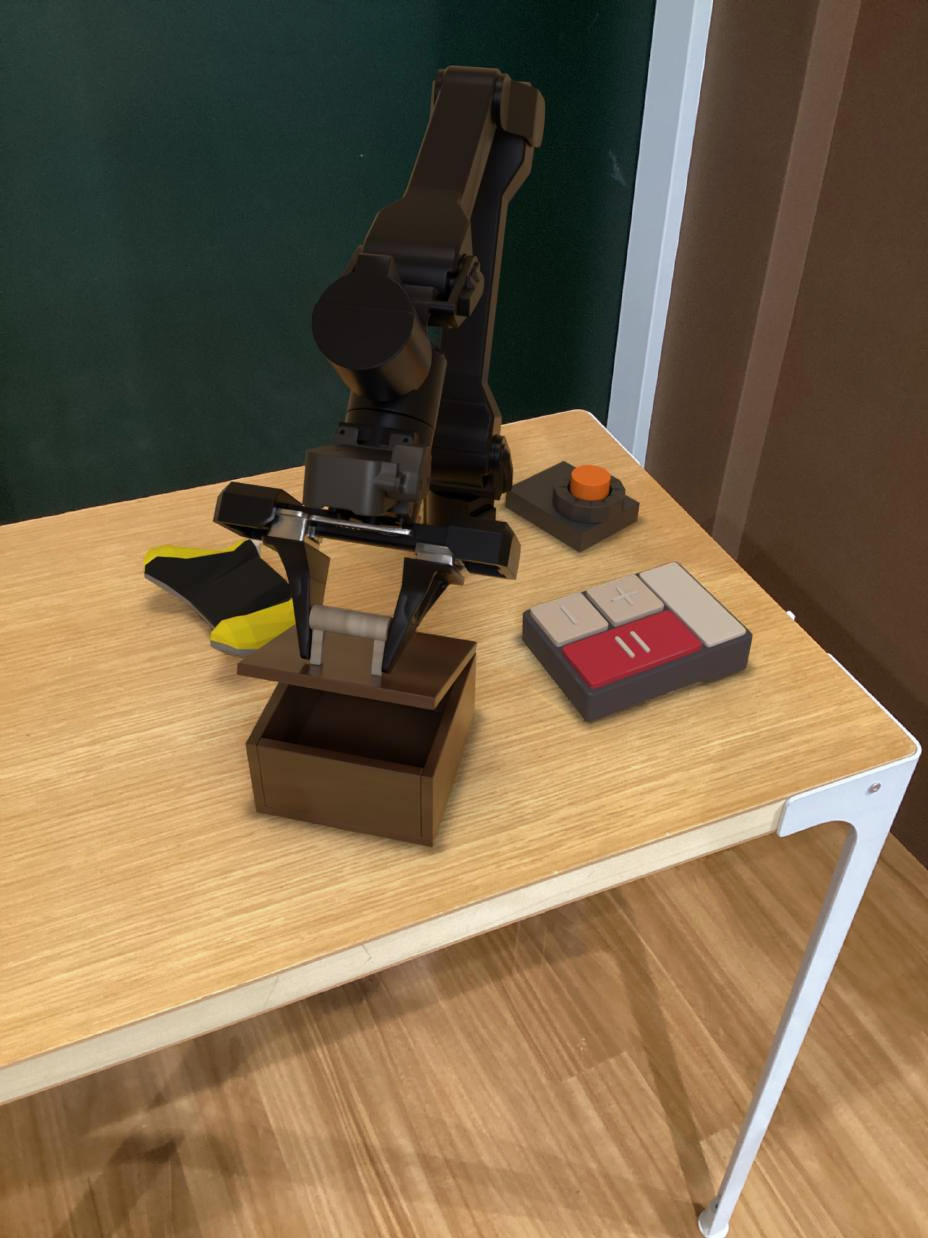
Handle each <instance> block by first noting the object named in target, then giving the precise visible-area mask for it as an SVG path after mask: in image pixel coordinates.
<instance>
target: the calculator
mask: <svg viewBox="0 0 928 1238" xmlns="http://www.w3.org/2000/svg"><path fill="white" fill-rule="evenodd" d="M521 621H522V627H521V628H522V629H521V630H522V631H521V632H522V633H521V634H522V637H521V638H522V642H523V643H524V644H525V645H526V647H527V648H528V649H529V651H530V652H531V653H532V654H533V655H534V657H535V658H536V659H537V661H538V662H539V663H540V664H541V666H542V667H543V668H544V670H545V671H546V672H547V673H548V675H549V676H550V677H551V678H552V680H553V681H554V682H555V683H556V686H558V688H559V689H560V690H561V691H562V692H563V694H564V695H565V696H566V698H567V699H568V700H569V702H570V703H571V705H573V707H574V708H575V709H576V710H577V712H578V713H579V714H580V716H581V717H582V718H583V719H584V720H585V721H586V722H588V723H589V722H594V721H597V720H599V719H602V718H605V717H608V716H611V715H613V714H615V713H618V712H621V711H624V710H626V709H629V708H631V707H634V706H636V705H640V704H642V703H644V702H647V701H650V700H653V699H655V698H658V697H660V696H661V697H662V696H664V695H667V694H668V693H672V692H674V691H677V690H679V689H682V688H684V687H687V686H690V685H692V684H695V683H698V682H701V681H703V682H708V683H711V682H714V681H717V680H719V679H722V678H725V677H727V676H730V675H732V674H735V673H738V672H741V671H744V670H746V668H747V666H748V663H749V657H750V652H751V647H752V643H753V642H752V641H753V638H754V635H753V632H751V631H750V629H748V628H747V627H746V625H744V623H742V622H741V621H740V619H738V618H737V617H736V616H735V615H734V614H733V613H732V612H731V611H730V610H729V609H728V608H727V607H725V605H724V604H722V603H721V602H720V601H719V599H717V598H716V597H715V596H714V595H713V594H712V593H711V592H710V591H709V590H707V588H705V586H703V584H702V583H700V581H698V580H697V579H696V578H695V577H694V576H693V575H692V574H691V573H690V572H689V571H688V570H687V569H686V568H685V567H683V565H682V564H680V563H679V562H678V561H670V562H667V563H664V564H661V565H658V566H655V567H652V568H649V569H646V570H643V571H640V572H637V573H632V574H628V575H625V576H622V577H619V578H615V579H613V580H610V581H606V582H603V583H600V584H597V585H595V586H591V587H589V588H587V589H585V590H584V591H577V592H573V593H571V594H567V595H565V596H561V597H559V598H556V599H553V600H549V601H546V602H543V603H541V604H537V605H534V606H532V607H530V608H529V609H526V610H525V611H523V612H522V620H521Z"/></svg>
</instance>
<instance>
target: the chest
mask: <svg viewBox="0 0 928 1238" xmlns="http://www.w3.org/2000/svg"><path fill="white" fill-rule="evenodd" d="M476 672H477V651H476V652H475V654H474V655H473V656H472V658H471V659H470V661H469V662H468V663H467V665H466V666H465V667H464V669H463V670H462V672H461V673H460V674H459V676H458V677H457V678H456V680H455V681H454V683H453V684H452V685H451V687H450V688H449V690H448V691H447V692H446V694H445V695H444V696H443V698H442V699H441V701H440V702H439V703H438V705H437V706H436V707H435V709H434V710H431V709H426V708H420V707H414V706H409V705H403V704H397V703H392V702H386V701H381V700H375V699H369V698H364V697H358V696H353V695H347V694H341V693H336V692H330V691H325V690H319V689H313V688H308V687H302V686H297V685H291V684H285V683H280V682H277V684H276V686H275V688H274V689H273V692H272V693H271V695H270V697H269V699H268V700H267V703H266V705H265V706H264V708H263V710H262V712H261V714H260V715H259V717H258V719H257V721H256V723H255V725H254V726H253V728H252V730H251V732H250V734H249V735H248V737H247V739H246V741H245V745H244V746H245V751H246V757H247V763H248V770H249V777H250V781H251V788H252V795H253V801H254V807H255V812H256V813H259V814H265V815H269V816H275V817H280V818H285V819H289V820H295V821H300V822H305V823H308V824H309V823H310V824H315V825H319V826H325V827H330V828H334V829H339V830H345V831H350V832H355V833H360V834H363V835H364V834H365V835H368V836H369V835H371V836H375V837H379V838H384V839H389V840H395V841H399V842H405V843H409V844H415V845H419V846H425V847H431V848H433V847H434V844H435V842H436V838H437V835H438V832H439V829H440V826H441V823H442V820H443V817H444V813H445V811H446V808H447V804H448V801H449V798H450V795H451V792H452V790H453V789H452V788H453V786H454V783H455V780H456V777H457V773H458V770H459V767H460V765H461V761H462V758H463V755H464V752H465V749H466V746H467V742H468V739H469V736H470V733H471V731H472V727H473V723H474V720H475V708H476V707H475V703H476V701H475V700H476V679H477V677H476V675H477V673H476Z"/></svg>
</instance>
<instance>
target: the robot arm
mask: <svg viewBox="0 0 928 1238" xmlns="http://www.w3.org/2000/svg"><path fill="white" fill-rule="evenodd" d="M545 101H546V100H545V98H544V97H543V95H542V93H541V91H540V89H538V88H537V87H533V86H532V83H531V82H530V81H517V80H514V79H512V78H511V77H510V75H509V74H508V73H503V72H501V71H500V69H499V68H491V67H490V68H489V67H476V66H463V65H462V66H461V65H448V66H447V67H446V68H439V69H438V70H437V73H436V77H435V79H434V80H433V81H432V85H431V97H430V109H429V110H430V111H429V120H428V123H427V126H426V130H425V132H424V135H423V138H422V142H421V145H420V147H419V150H418V153H417V157H416V159H415V162H414V166H413V168H412V171H411V174H410V177H409V181H408V182H407V186H406V189H405V191H404V193H403V195H402V196H401V198H399V199H397V200H395V201H394V202H392V203H391V204H389V205H387V206H385V207H384V208H382V209H380V210H379V211H378V212H377V213H376V215H375V217H374V219H373V221H372V223H371V226H370V227H369V228H368V229H369V230H368V231H367V234H366V235H365V237H364V241H363V243H362V244H359V245H358V246H357V247H356V249H355V251H354V253H353V254H352V256H351V258H350V259H349V261H348V263H347V264H346V267H345V269H343V272H342V274H341V275H340V277H339V278H337V279H336V280H335V281H333V282H332V283H331V284H329V286H327V288H326V289H325V290H324V291H323V292H322V293H321V296H320V297H319V299H318V300H317V302H315V304H314V306H313V310H312V314H311V331H312V336H313V340H314V341H315V344H316V346H317V347H318V349H319V351H320V353H321V354H322V356H324V358H325V359H326V360H327V362H328V363H329V365H330V366H331V367H332V368H333V370H334V371H335V373H336V374H337V375H338V377H339V378H340V379H341V381H342V382H343V383H344V385H346V387H348V389H349V390H350V392H349V397H348V403H347V408H346V413H345V418H344V421H339V422H338V427H337V428H336V430H335V435H334V440H333V442H332V443H331V445H328V444H327V445H321V446H317V447H313V448H309V449H306V450H305V460H304V461H305V462H304V475H303V489H302V500H301V501H300V500H298V499H296V498H295V497H294V496H293V495H291V494H290V493H288V492H287V491H286V490H284V489H283V488H279V487H273V486H272V487H271V486H266V485H259V484H252V483H246V482H240V481H239V482H238V481H233V480H232V481H230V482H229V483H228V484H227V485H226V486H225V487H224V488H223V489H222V490H221V491H220V493H219V494H218V495H217V498H216V501H215V507H214V512H213V516H212V523H215V524H216V525H218V526H220V527H222V528H225V529H226V530H227V531H230V532H232V533H233V534H235V535H237V536H239V537H240V538H244V539H253V540H259V541H260V542H261V544H262V545H263V546H265V547H266V548H268V549H270V550H272V551H274V552H275V553H277V554H278V556H279V559H280V561H281V563H282V566H283V568H284V571H285V575H286V578H287V582H288V583H289V586H290V590H291V596H292V602H293V609H294V616H295V623H296V630H297V637H298V644H299V651H300V657H301V658H302V659H306V660H310V658H311V645H312V633H313V629H311V628H310V626H309V616H310V612H311V609H312V607H313V605H315V604H319V605H324V601H325V600H324V599H325V595H326V588H327V582H328V577H329V571H330V564H331V563H330V562H331V556H328V555H327V554H325V553H324V552H322V551H320V548H321V544H323V541H324V539H325V540H332V541H333V540H334V541H339V542H344V543H345V542H346V543H352V544H360V545H366V546H371V547H378V548H384V549H391V550H397V551H404V552H410V553H414V555H415V556H416V558H414V557H409V556H408V557H407V556H404V557H403V563H402V564H403V566H402V575H401V585H400V589H399V594H398V596H397V601H396V604H395V608H394V611H393V614H392V622H391V625H390V629H389V632H388V636H387V640H386V643H385V647H384V653H383V660H382V667H381V672H382V673H386V674H390V673H391V671H392V670H393V668H394V666H395V665H396V663H397V661H398V660H399V658H400V656H401V655H402V653H403V651H404V650H405V648H406V646H407V645H408V643H409V641H410V640H411V638H412V636H413V635H414V633H415V631H416V632H417V631H418V630H417V629H418V628H419V626H420V625H421V623H422V621H423V620H424V619H425V617H426V616H427V614H428V613H429V612H430V611H431V609H432V608H433V607H434V605H435V604H436V603H437V601H438V600H439V599H440V597H442V595H443V594H444V593H445V591H446V590H447V589H448V587H449V586H451V585H454V586H464V584H465V580H466V577H465V576H464V575H463V571H464V568H465V569H466V571H467V572H468V574H470V575H477V576H483V577H490V578H495V579H502V580H509V581H510V580H511V581H512V580H513V581H514V580H515V581H516V580H517V578H518V571H519V566H520V559H521V554H522V553H521V552H522V544H521V542H520V540H519V538H518V537H517V535H516V534H515V532H514V530H513V528H512V527H511V526H510V524H509V523H508V522H507V521H504V520H503V521H502V520H497V507H496V506H495V501H500V500H501V498H502V495H503V494H506V492H508V491H511V490H512V486H513V485H514V484H513V483H514V467H513V460H512V453H511V452H512V451H511V449H510V446H509V444H508V443H509V442H508V441H507V438H506V435H502V434H501V433H502V422H503V421H502V420H503V416H502V413H501V410H500V408H499V406H498V404H497V401H496V399H495V397H494V394H493V392H492V390H491V388H490V385H489V383H488V382H489V372H490V365H491V364H490V363H491V356H492V349H493V348H492V347H493V346H492V345H493V338H494V328H495V321H496V320H495V319H496V311H497V303H498V294H499V285H500V277H501V268H502V261H503V260H502V257H503V250H504V242H505V241H504V240H505V232H506V224H507V216H508V215H507V214H508V208H509V203H510V201H511V200H512V199H513V198H514V196H515V195H516V193H517V192H518V191H519V189H520V188H521V186H522V185H523V184H524V182H525V181H526V179H527V178H528V177H529V175H530V174H531V172H532V166H533V165H532V164H533V158H534V153H535V152H534V151H535V148H540V147H541V146H542V141H543V138H544V137H543V136H544V129H545V122H546V121H545V119H546V102H545ZM429 327H434V328H440V336H439V343H438V344H437V343H436V341H435V340H434V339H432V337H430V336H429V333H428V331H429V330H428V329H429ZM326 507H327V509H326ZM421 507H422V516H421V515H420V513H421ZM421 518H422V523H421Z"/></svg>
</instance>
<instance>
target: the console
mask: <svg viewBox="0 0 928 1238" xmlns="http://www.w3.org/2000/svg"><path fill="white" fill-rule="evenodd" d="M575 468H577V466H574V465H572V464H571V463H569V462H567V461H565V460H562V461H560V462H558V463H556V464H554V465H552V466H550V467H548V468H546V469H544V470H541V471H539V472H537V473H535V474H533V475H531V476H529V477H526V478H525V479H523V480H521V481H519V482H516V483H514V484H513V486H512V490H511V491H508V492H506V493H505V504H504V507H505V508H506V509H508V510H509V511H511V512H513V513H515V514H516V515H517V516H519V517H521V518H522V519H524V520H525V521H527V522H528V523H530V524H532V525H534V526H535V527H537V528H538V529H540V530H542V531H544V532H545V533H547V534H548V535H550V536H552V537H554V538H555V539H556V540H558V541H560V542H561V543H563V544H564V545H567V546H568V547H570V548H571V549H573V550H574V551H576V552H578V553H582V552H584V551H586V550H588V549H590V548H591V547H593V546H595V545H596V544H597V545H598V543H600V542H603V541H604V540H607V538H610V537H611V536H613V535H615V534H617V533H619V532H621V531H622V530H624V529H626V528H627V527H630V526H631V525H633V524H635V523H637V522H638V518H639V510H640V506H641V505H640V504H641V503H640V502H639V501H638V500H636V499H634V498H632V497H630V496H629V495H627V494H626V492H627V490H626V488H625V486H624V484H623V483H622V481H621V480H620V479H619V478H618V477H615V476H613V475H612V474H610V476H611V479H610V487H609V494H608V496H607V497H606V498H604V499H602V500H594V501H589V500H584V499H579V498H577V497H575V496H574V495H572V493H571V491H570V485H571V474H572V471H573V470H574V469H575Z"/></svg>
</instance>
